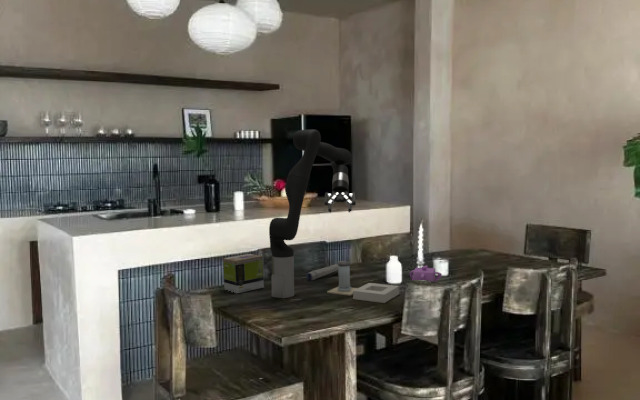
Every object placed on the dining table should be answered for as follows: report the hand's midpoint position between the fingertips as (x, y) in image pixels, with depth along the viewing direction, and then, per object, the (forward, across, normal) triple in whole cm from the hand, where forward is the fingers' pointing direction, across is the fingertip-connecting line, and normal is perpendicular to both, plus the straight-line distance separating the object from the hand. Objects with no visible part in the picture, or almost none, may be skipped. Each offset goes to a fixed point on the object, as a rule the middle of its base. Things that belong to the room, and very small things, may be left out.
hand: (339, 211), depth 273 cm
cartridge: (+32, +2, +14) cm, 35 cm away
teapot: (+29, +38, +19) cm, 51 cm away
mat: (+33, +2, +15) cm, 36 cm away
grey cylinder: (+12, -6, +36) cm, 39 cm away
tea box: (+31, -43, +17) cm, 55 cm away
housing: (+39, +16, +9) cm, 43 cm away
